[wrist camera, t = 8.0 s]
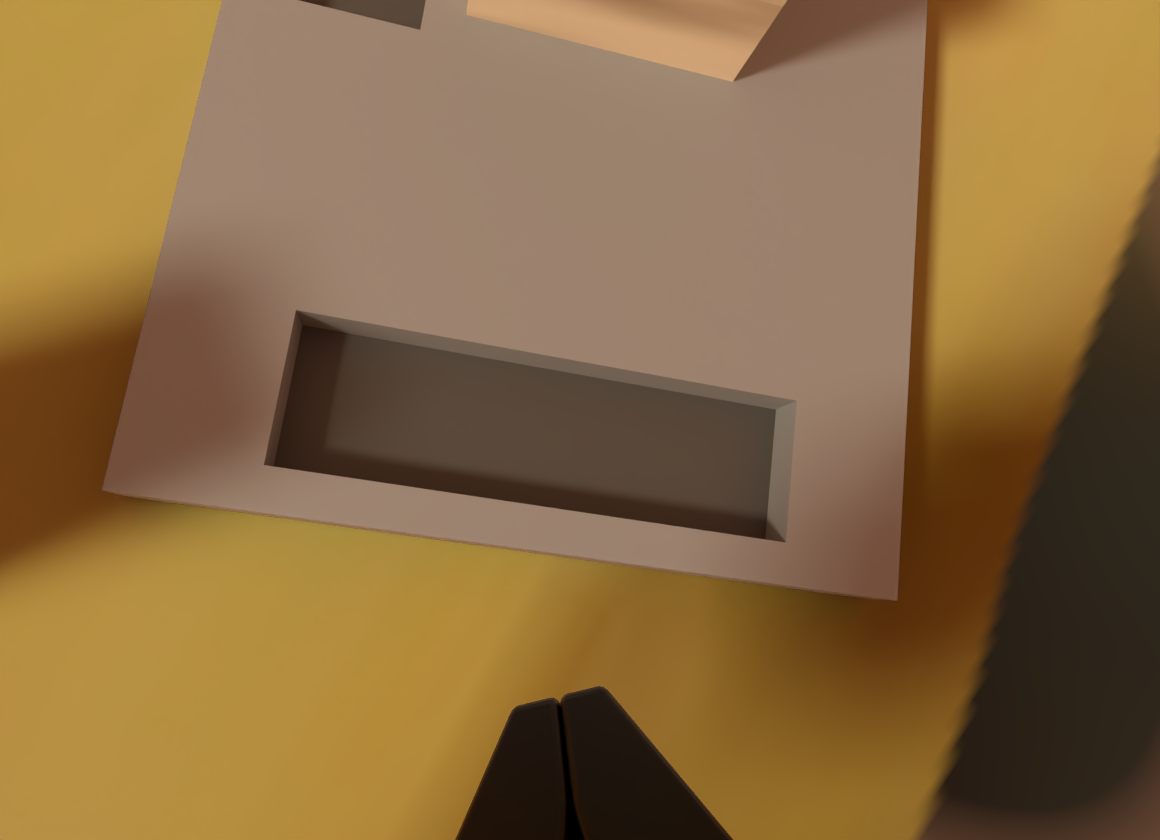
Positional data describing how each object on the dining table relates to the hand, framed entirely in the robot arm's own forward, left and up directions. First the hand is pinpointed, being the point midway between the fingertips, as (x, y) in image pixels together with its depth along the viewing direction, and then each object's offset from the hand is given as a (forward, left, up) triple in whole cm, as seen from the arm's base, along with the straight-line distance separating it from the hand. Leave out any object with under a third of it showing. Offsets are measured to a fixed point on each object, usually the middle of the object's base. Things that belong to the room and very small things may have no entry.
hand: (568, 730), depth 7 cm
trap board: (+9, -6, -12) cm, 17 cm away
